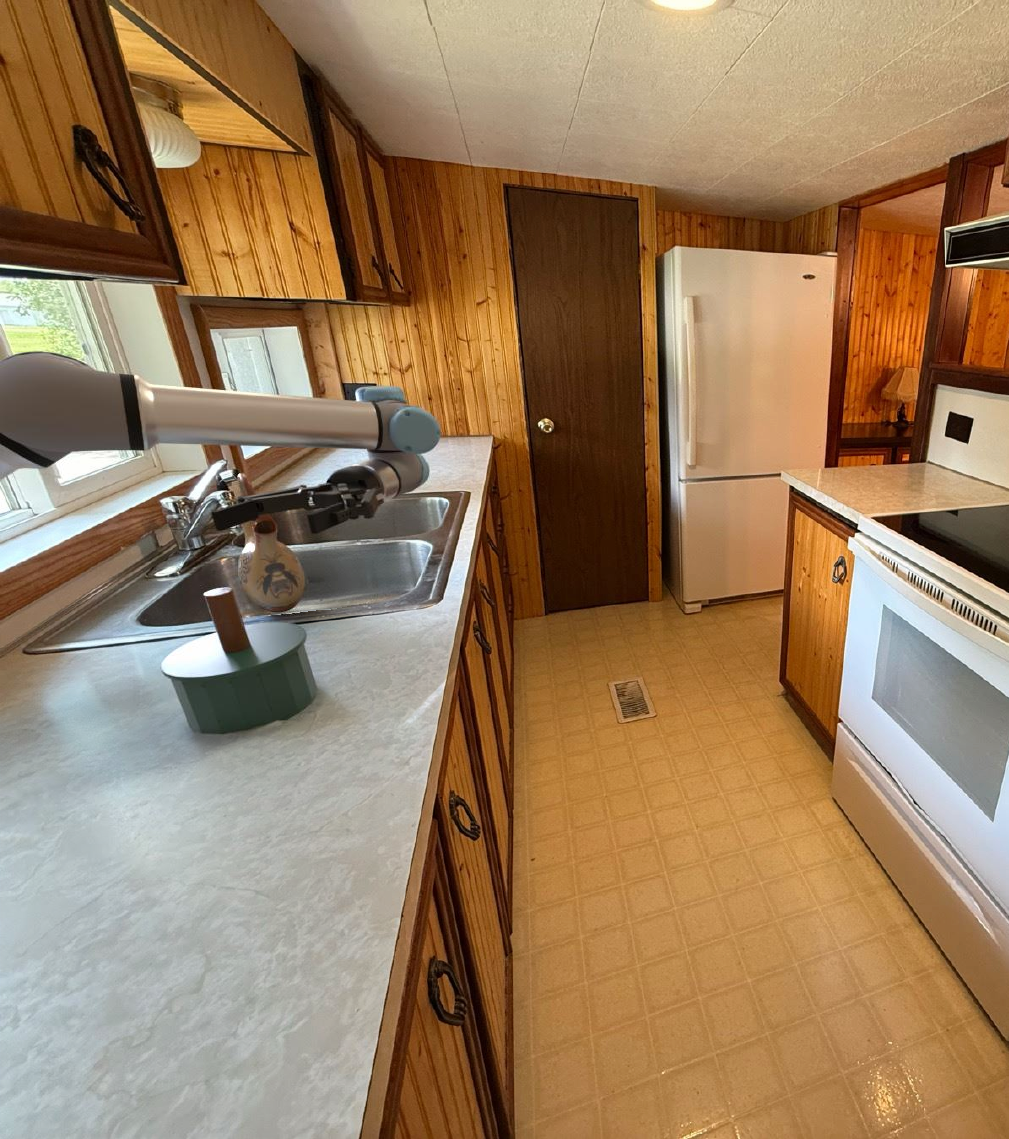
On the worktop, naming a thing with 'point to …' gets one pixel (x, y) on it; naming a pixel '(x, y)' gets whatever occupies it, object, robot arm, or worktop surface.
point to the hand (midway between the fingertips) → (263, 523)
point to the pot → (249, 696)
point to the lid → (232, 644)
